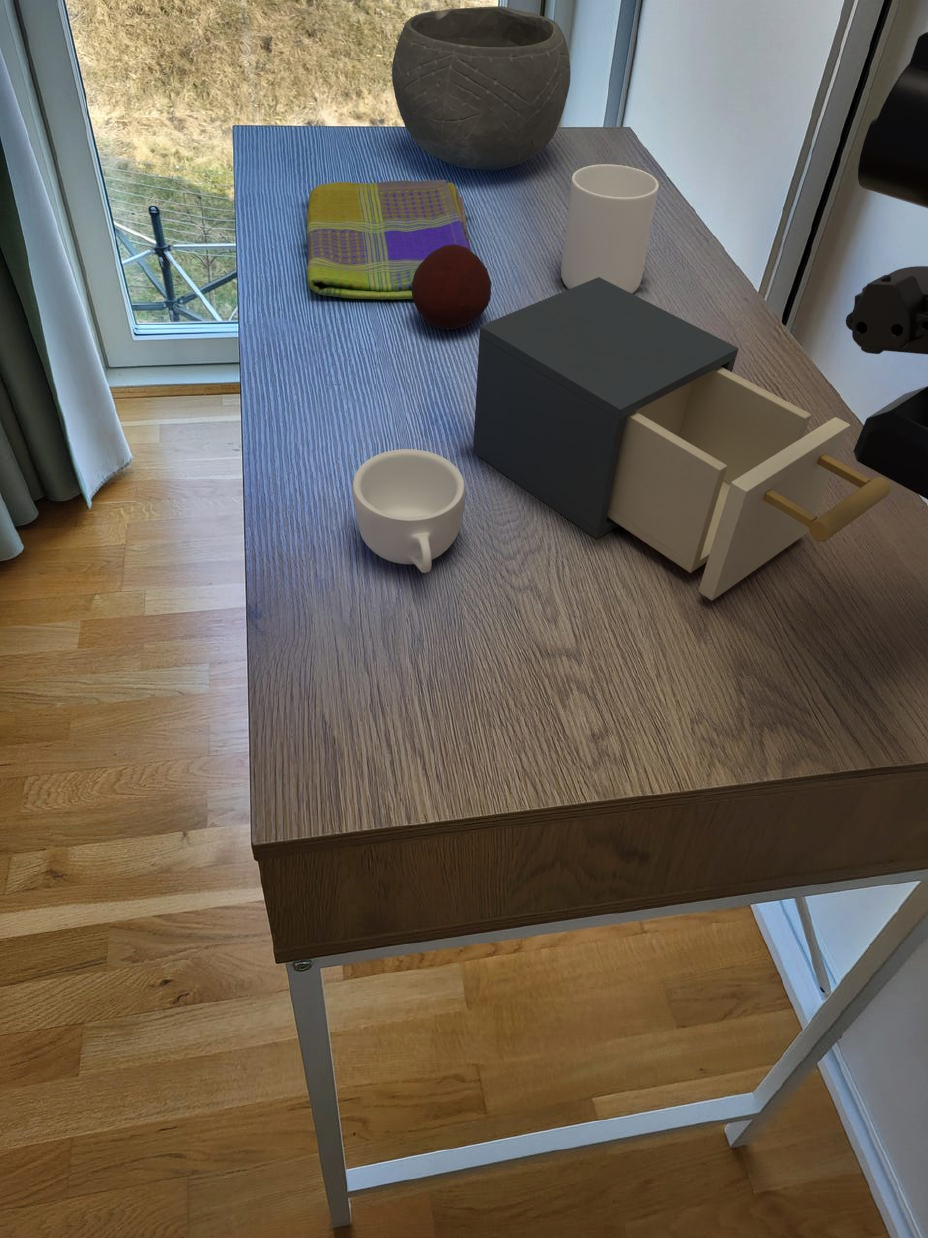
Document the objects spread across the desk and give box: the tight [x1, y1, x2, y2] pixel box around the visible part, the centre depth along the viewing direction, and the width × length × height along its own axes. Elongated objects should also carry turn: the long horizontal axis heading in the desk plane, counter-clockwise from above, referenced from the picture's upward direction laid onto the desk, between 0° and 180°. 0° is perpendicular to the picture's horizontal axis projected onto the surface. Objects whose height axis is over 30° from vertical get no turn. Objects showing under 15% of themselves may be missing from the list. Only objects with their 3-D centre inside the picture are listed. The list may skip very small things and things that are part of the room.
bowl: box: [391, 5, 572, 171], centre depth 114 cm, size 21×21×15 cm
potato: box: [411, 244, 492, 330], centre depth 88 cm, size 7×8×7 cm
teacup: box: [351, 448, 466, 574], centre depth 65 cm, size 10×8×5 cm
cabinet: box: [472, 277, 739, 540], centre depth 72 cm, size 14×13×11 cm
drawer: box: [607, 366, 892, 601], centre depth 65 cm, size 17×11×9 cm, turn 41°
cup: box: [560, 163, 660, 294], centre depth 95 cm, size 8×12×10 cm
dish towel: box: [306, 179, 471, 300], centre depth 100 cm, size 18×24×3 cm
